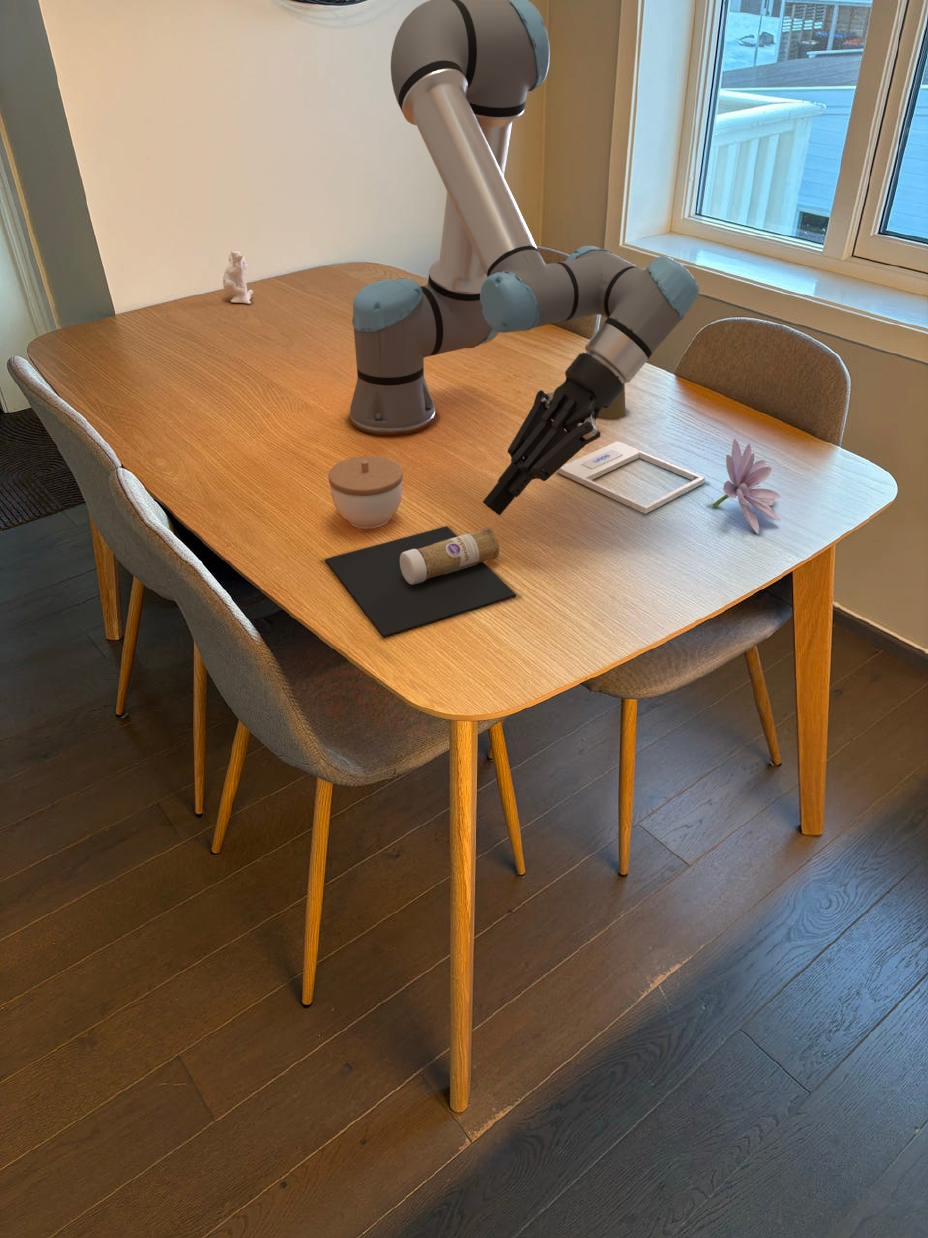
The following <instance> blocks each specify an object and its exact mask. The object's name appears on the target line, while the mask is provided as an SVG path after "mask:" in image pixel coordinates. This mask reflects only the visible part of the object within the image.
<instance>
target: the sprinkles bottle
mask: <svg viewBox="0 0 928 1238" xmlns="http://www.w3.org/2000/svg"><path fill="white" fill-rule="evenodd" d="M500 551H501V550H500V542H499V539H498V536H497V534H496V533H495V531H494V530H493V529H491V528H489V527H485V528H483V529H480V530H478V531H473V532H471V533H464V534H461V535H459V536H457V537H455V538H451V539H448V540H445V541H441V542H438V543H435V544H432V545H430V546H426V547H423V548H420V549H411V550H408V551H405V552H403V553H402V554H401V555H400V567H401V571H402V574H403V576H404V578H405V580H406V581H407V582H408V583H409V584H411V585H414V584H418V583H421V582H424V581H425V580H427V579H429V578H433V577H436V576H439V575H445V574H448V573H451V572H454V571H458V570H461V569H464V568H467V567H470V566H473V565H476V564H478V563H481V562H484V563H485V562H486V561H490V560H496V559H497V558H498V557H499V555H500Z"/></svg>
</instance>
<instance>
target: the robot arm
mask: <svg viewBox="0 0 928 1238" xmlns="http://www.w3.org/2000/svg"><path fill="white" fill-rule="evenodd" d="M392 45H393V46H392V49H391V55H390V78H391V84H392V90H393V94H394V96H395V99H396V102H397V104H398V106H399V108H400V111H401V113H402V115H403V117H404V119H405V121H406V122H408V123H409V124H411V125H413V126H416V128H417V130H418V131H419V134H420V136H421V137H422V140H423V142H424V144H425V146H426V149H427V151H428V153H429V154H430V157H431V160H432V162H433V164H434V166H435V168H436V170H437V173H438V175H439V176H440V179H441V181H442V183H443V185H444V188H445V190H446V197H445V205H444V216H443V224H442V233H441V242H440V251H439V259H437V260H436V261H434V262H433V263H432V264H431V265H430V267H429V271H428V279H427V284H424V285H421V284H420V283H419V282H418V281H417V280H414V279H412V278H404V277H398V278H395V279H393V278H387V279H381V280H379V281H374V282H373V283H370V284H368V285H366V286H364V287H362V288H361V289H359V290H358V292H357V293H356V295H355V296H354V298H353V302H352V319H351V322H352V324H351V325H352V327H353V336H354V338H353V339H354V348H355V349H354V350H355V360H356V362H355V363H356V373H357V379H356V384H355V388H354V390H353V395H352V399H351V403H350V407H349V418H350V420H349V421H350V423H351V425H352V426H353V427H354V428H355V429H357V430H358V431H361V432H363V433H366V434H369V435H374V436H380V437H381V436H382V437H398V436H407V435H412V434H416V433H419V432H421V431H424V430H426V429H428V428H429V427H431V425H433V423H434V422H435V421H436V408H435V407H436V406H435V403H434V400H433V396H432V395H431V392H430V390H429V386H428V384H427V381H426V379H425V371H424V369H425V368H424V363H425V361H424V359H425V358H428V357H431V356H436V355H442V354H445V353H450V352H455V351H459V350H465V349H473V348H476V347H479V346H480V345H483V344H487V343H490V342H492V341H493V340H495V338H497V336H498V335H499V333H501V334H507V333H515V332H516V333H517V332H527V331H531V330H532V329H534V328H539V327H542V326H546V325H551V324H555V323H560V322H561V323H562V322H568V321H572V320H573V321H574V320H576V319H581V318H586V317H591V316H595V315H599V316H603V317H604V318H606V320H605V321H604V322H603V323H602V325H601V326H599V328H598V330H596V332H595V333H594V334H593V335H592V337H591V338H590V339H589V340H588V341H587V343H585V346H584V349H585V350H584V351H585V352H580V353H579V354H578V355H577V356H576V357H575V358H574V360H573V361H572V362H571V363H570V365H568V367H567V368H566V370H565V372H564V376H565V380H564V381H563V383H562V384H560V385H559V386H557V387H556V388H555V389H554V391H553V392H548V393H547V392H545V391H544V390H541V389H540V390H539V391H537V393H536V395H535V399H534V402H533V405H532V407H531V409H529V412H528V414H527V415H526V417H525V419H524V421H523V422H522V424H521V425H520V428H519V429H518V431H517V433H516V434H515V436H514V438H513V439H512V442H511V443H510V444H509V447H508V449H507V454H509V455H510V458H511V459H510V464H509V465H508V466H507V468H506V469H505V470H504V471H503V473H502V474H500V476H499V477H498V480H497V483H496V484H495V486H494V487H492V489H491V490H490V491H489V493H488V494H487V496H486V497H485V498H484V499H483V500H482V503H483V504H484V505H485V506H486V507H487V508H488V509H490V510H491V511H493V512H494V513H495V514H496V515H498V516H499V517H501V516H502V514H503V513H504V512H505V510H506V509H507V508H508V506H509V505H510V504H511V503H512V501H513V500H514V499H515V498H517V497H519V496H520V495H521V494H522V493H523V492H524V490H525V489H526V488H527V486H529V484H530V483H531V482H532V481H533V480H536V479H537V480H541V481H542V482H546V481H547V480H548V479H550V478H551V477H552V476H553V475H554V474H555V473H557V472H558V469H560V468H561V467H562V466H563V465H565V464H567V463H568V462H569V461H570V460H571V459H572V458H573V457H574V456H575V455H577V454H578V453H579V452H580V451H581V450H582V449H584V447H586V445H588V444H590V443H593V442H594V441H596V440H597V439H599V438H600V437H601V431H600V430H599V429H598V428H597V423H596V420H597V419H598V418H599V417H598V416H599V413H600V411H601V409H602V408H609V407H610V406H611V405H612V404H613V402H614V401H615V400H616V399H617V397H618V396H619V395H620V394H621V393H622V391H623V390H624V389H623V388H624V386H623V384H622V383H623V382H624V383H625V384H629V383H631V381H632V380H633V379H634V378H635V376H636V375H637V373H638V372H639V371H640V370H641V369H642V368H643V367H644V365H645V364H646V363H647V362H648V360H649V359H651V357H652V355H653V353H654V352H655V351H656V350H657V349H658V348H659V347H660V346H661V344H662V343H663V341H664V340H665V339H666V338H667V337H668V336H669V335H670V334H671V332H672V331H673V330H674V329H675V328H676V327H677V325H678V324H679V323H680V322H681V321H682V320H684V318H685V315H686V314H687V313H688V312H689V310H690V308H691V307H692V306H693V304H694V303H695V301H696V300H697V299H698V297H699V295H700V286H699V283H698V282H697V280H696V278H695V277H694V275H692V273H691V272H690V271H689V270H688V269H687V268H686V267H685V266H684V265H682V264H681V263H679V262H678V261H677V260H675V259H673V258H671V257H669V256H664V255H663V256H661V255H660V256H657V257H655V258H654V260H652V261H651V263H649V264H647V267H646V268H643V267H642V266H638V265H636V264H634V263H633V262H630V261H628V260H626V259H624V258H622V257H620V256H618V255H617V254H615V253H613V252H612V251H610V250H607V249H605V248H600V247H597V246H594V245H584V246H580V247H579V248H577V249H576V250H574V252H572V253H570V254H569V256H568V257H566V260H563V261H558V262H557V261H556V262H552V263H545V261H544V259H543V257H542V255H541V253H540V251H539V249H538V247H537V244H536V243H535V241H534V238H533V236H532V234H531V232H530V230H529V228H528V226H527V224H526V221H525V219H524V217H523V215H522V213H521V210H520V209H519V207H518V204H517V202H516V200H515V197H514V195H513V194H512V192H511V189H510V188H509V185H508V183H507V181H506V179H505V171H506V164H507V158H508V152H509V145H510V139H511V132H512V125H513V122H514V121H515V120H516V119H518V118H519V117H520V116H522V115H523V114H524V113H525V109H526V104H527V97H528V92H533V91H534V90H536V89H538V88H540V87H541V86H542V83H544V81H545V80H546V78H547V75H548V72H549V67H550V58H551V56H550V55H551V50H550V40H549V33H548V30H547V28H546V26H545V21H544V19H543V17H542V14H541V13H540V11H539V10H538V8H537V7H536V5H534V3H533V2H531V1H530V0H427V1H425V2H423V3H421V4H419V5H418V6H416V7H415V8H414V9H412V11H411V12H409V13H408V15H407V16H406V17H405V19H404V20H403V21H402V22H401V25H400V27H399V28H398V30H397V32H396V35H395V37H394V41H393V44H392Z"/></svg>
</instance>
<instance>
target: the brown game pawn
mask: <svg viewBox="0 0 928 1238" xmlns="http://www.w3.org/2000/svg"><path fill="white" fill-rule="evenodd" d="M622 384H623V386H624V388H623V389H624V390H623V391H622V393H621V394H620V395H619V396H618V397H617V399H616V400H615V401H614V402H613V404H612V405H611V406H610V407H609V408H602V409H601V411H600V413H599V416H598V418H601V419H604V420H605V419H607V420H617V419H620V418H623V417H625V415H626V383H624V382H623V383H622Z"/></svg>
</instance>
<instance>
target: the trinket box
mask: <svg viewBox="0 0 928 1238" xmlns="http://www.w3.org/2000/svg"><path fill="white" fill-rule="evenodd" d="M327 475H328V477H327V478H328V483H329V486H330V487H329V488H330V494H331V499H332V502H333V505H334V507H335V509H336V511H337V512H338V513H339V515H340V516H341V517H342V519H344V520H345V521H347V522H348V523H349V524H350V525H351V526H352V527H353V528H354V527H355V528H357V529H360V530H361V529H362V530H372V529H379V528H380V527H383V526H385V525H386V524H387V523H388V522H389V520H390V519H392V518H393V517H394V515H395V514H396V513H397V511H398V510H399V508H400V504H401V502H402V496H403V478H404V473H403V469H402V466H401V465H400V464H399V463H397V461H394V460H392V459H390V458H387V457H382V456H378V455H376V456H375V455H361V456H355V457H350V458H347V459H344V460H341V461H339V462H337V463H335V464H334V465H333V466H332V467H331V468H330V470H329V471H328V473H327Z"/></svg>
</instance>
